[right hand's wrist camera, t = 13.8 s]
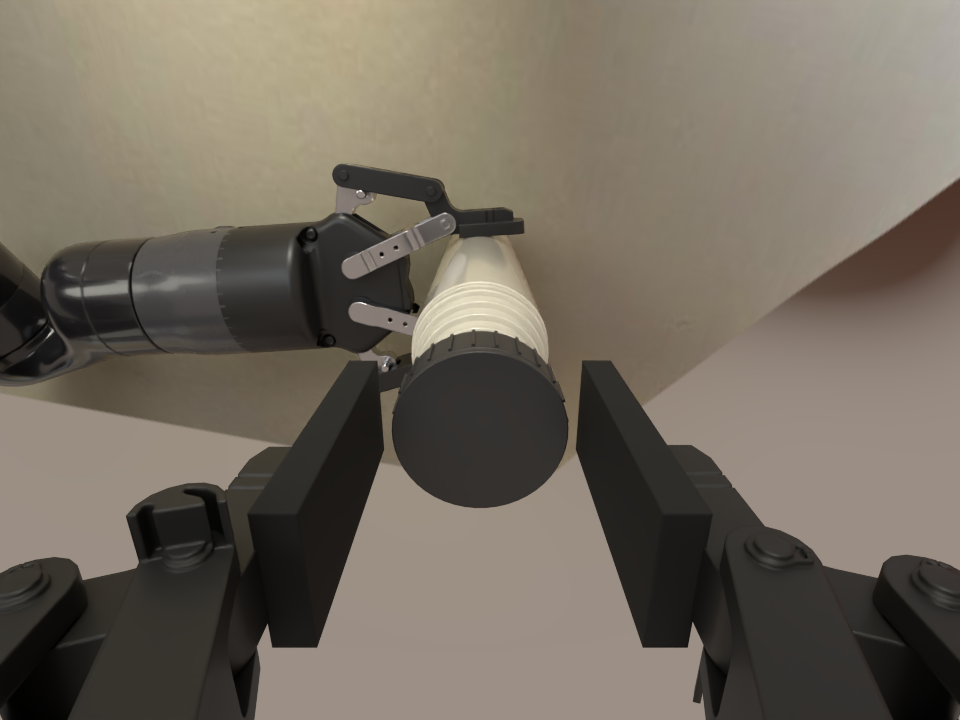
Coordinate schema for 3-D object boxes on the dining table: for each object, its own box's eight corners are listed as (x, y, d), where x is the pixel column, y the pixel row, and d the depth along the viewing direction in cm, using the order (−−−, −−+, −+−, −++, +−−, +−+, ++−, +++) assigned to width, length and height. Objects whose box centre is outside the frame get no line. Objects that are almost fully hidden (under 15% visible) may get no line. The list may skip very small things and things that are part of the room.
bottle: (444, 222, 36) (377, 332, 12) (515, 222, 36) (584, 333, 12) (445, 291, 38) (388, 505, 14) (513, 292, 38) (570, 507, 14)
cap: (399, 470, 15) (390, 506, 14) (399, 324, 14) (389, 344, 12) (551, 477, 15) (559, 513, 14) (569, 333, 14) (580, 354, 12)
